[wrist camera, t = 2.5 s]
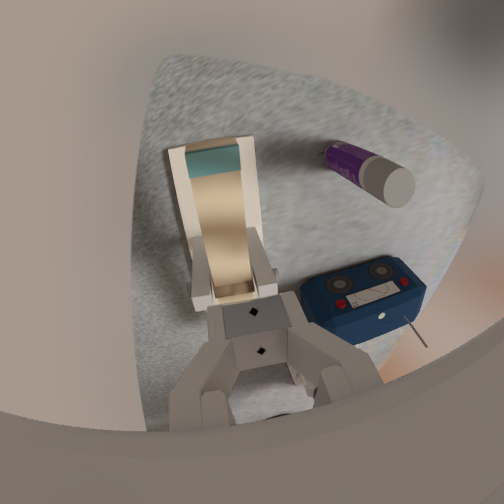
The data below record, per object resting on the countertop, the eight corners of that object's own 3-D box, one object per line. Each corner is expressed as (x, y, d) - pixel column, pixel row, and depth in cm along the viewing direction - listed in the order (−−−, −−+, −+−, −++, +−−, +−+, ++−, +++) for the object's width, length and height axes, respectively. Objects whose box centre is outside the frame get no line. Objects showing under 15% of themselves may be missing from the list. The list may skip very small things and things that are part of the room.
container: (318, 162, 37) (374, 198, 24) (332, 134, 35) (396, 158, 22) (342, 175, 39) (401, 216, 26) (356, 149, 37) (422, 180, 24)
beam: (257, 339, 42) (260, 355, 40) (230, 344, 42) (232, 360, 40) (236, 134, 21) (241, 145, 19) (183, 142, 21) (181, 155, 18)
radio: (395, 248, 48) (459, 314, 31) (391, 282, 53) (443, 348, 36) (297, 276, 47) (341, 368, 30) (300, 311, 52) (337, 397, 35)
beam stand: (266, 297, 49) (287, 362, 36) (206, 308, 48) (211, 376, 35) (251, 135, 34) (280, 155, 21) (169, 148, 33) (147, 176, 20)
